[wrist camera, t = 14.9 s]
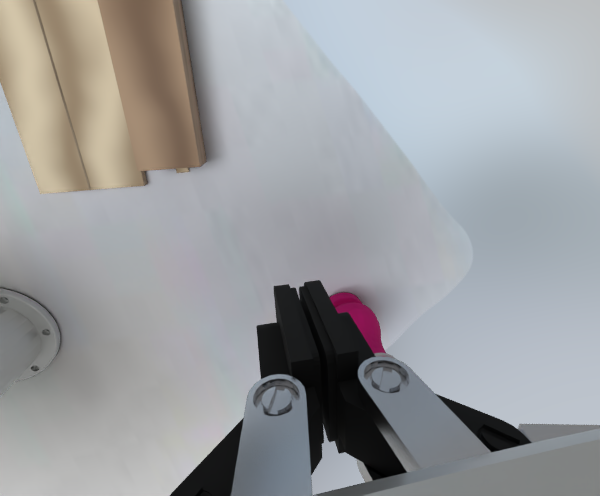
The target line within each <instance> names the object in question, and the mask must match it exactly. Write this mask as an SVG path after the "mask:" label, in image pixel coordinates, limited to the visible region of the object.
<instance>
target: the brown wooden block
mask: <svg viewBox="0 0 600 496" xmlns="http://www.w3.org/2000/svg"><path fill="white" fill-rule="evenodd" d="M97 1H98V5H99V9H100V13H101V18H102V22H103V26H104V30H105V35H106V39H107V43H108V47H109V52H110V56H111V60H112V64H113V68H114V73H115V77H116V81H117V85H118V90H119V94H120V98H121V102H122V107H123V111H124V115H125V119H126V124H127V128H128V132H129V136H130V141H131V145H132V149H133V153H134V158H135V162H136V166H137V170H138V171H147V170H161V169H175V168H189V167H200V166H202V165H203V164H204V163H206V155H205V149H204V142H203V136H202V130H201V123H200V117H199V111H198V104H197V98H196V91H195V85H194V79H193V72H192V66H191V60H190V53H189V47H188V40H187V34H186V28H185V21H184V15H183V9H182V2H181V0H97Z"/></svg>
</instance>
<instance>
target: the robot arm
mask: <svg viewBox="0 0 600 496" xmlns="http://www.w3.org/2000/svg"><path fill="white" fill-rule="evenodd" d="M299 295H300V300H299V297H298V294H297V291H296V288H290V286H289V284H288V285H281V286H274V297H275V308H276V318H277V323H270V324H264V325H257V336H258V348H259V360H260V372H261V380H259V381H258V382H257V383H255V384H254V386H253V387H252V388H251V389H250V391H249V394H248V396H247V401H246V407H245V413H244V418H243V419H242V420H241V421H240V422H239V423H238V424H237V425H236V426H235V427H234V429H233V430H232V431H231V432H230V433H229V434H228V435H227V436H226V437H225V438H224V439H223V440H222V441H221V442H220V443H219V444H218V445H217V446H216V447H215V448H214V449H213V451H212V452H211V453H210V454H209V455H208V456H207V457H206V458H205V459H204V460H203V461H202V462H201V463H200V464H199V465H198V466H197V467H196V468H195V469H194V470H193V471H192V473H191V474H190V475H189V476H188V477H187V478H186V479H185V480H184V481H183V482H182V483H181V484H180V485H179V486H178V487H177V488H176V489H175V490H174V491H173V492H172V494H171V495H170V496H600V425H557V424H555V425H554V424H552V425H551V424H519V428H518V429H516V428H515V427H514V426H512V425H510V424H508V423H506V422H504V421H502V420H500V419H497V418H495V417H492V416H490V415H488V414H485V413H482V412H480V411H477V410H475V409H472V408H470V407H467V406H465V405H462V404H460V403H457V402H454V401H452V400H449V399H447V398H445V397H442V396H439V395H437V394H435V393H434V392H433V391H432V390H431V389H430V388H429V387H428V386H427V385H426V384H425V383H424V382H423V381H422V380H421V379H420V378H419V377H418V376H417V375H416V374H415V373H414V372H413V371H412V369H411V368H410V367H408V366H407V365H406V364H404V363H403V362H400V361H399V360H397V359H394V358H390V357H383V356H378V357H376V356H375V355H374V353H373V351H372V350H371V348H370V346H369V345H368V343H367V341H366V340H365V338H364V337H363V335H362V333H361V332H360V330H359V328H358V327H357V325H356V324H355V322H354V320H353V319H352V317H351V315H350V314H349V313H348V312H343V313H338V312H337V311H336V309H335V307H334V305H333V303H332V302H331V300H330V298H329V296H328V294H327V292H326V291H325V289H324V287H323V285H322V283H321V282H320V280H318V281H310V282H305V283H304V286H303V287H299ZM59 346H60V332H59V329H58V326H57V324H56V322H55V321H54V319H53V317H52V316H51V315H50V314H49V313H48V312H47V310H46V309H45V308H43V307H42V306H41V305H40V304H38V303H37V302H36V301H34V300H32V299H30V298H28V297H27V296H24V295H22V294H19V293H17V292H14V291H10V290H6V289H2V288H0V397H1V396H2V395H3V394H4V393H5V392H6V391H7V390H8V389H9V388H10V386H11V385H12V384H13V383H14V382H16V381H20V380H25V379H27V378H30V377H32V376H35V375H36V374H38V373H40V372H41V371H43V370H44V369H45V368H46V367H47V366H48V365H49V364H50V363H51V362H52V360H53V359H54V358H55V356H56V354H57V352H58V350H59ZM323 424H324V428H325V431H326V435H327V438H328V440H329V442H331V441H335V443H336V446H337V449H338V452H339V453H343V452H346V453H348V454H349V455H351V456H353V457H354V458H356V459H357V465H358V468H359V471H360V473H361V475H362V477H363V478H364V481H365V483H361V484H357V485H353V486H349V487H345V488H341V489H337V490H332V491H329V492H324V493H320V494H316V495H312V480H311V475H312V473H313V472H314V470H315V468H316V467H317V465H318V463H319V462H320V460H321V458H322V443H324V435H323Z"/></svg>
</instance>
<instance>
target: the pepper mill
mask: <svg viewBox="0 0 600 496" xmlns="http://www.w3.org/2000/svg"><path fill="white" fill-rule="evenodd" d="M330 300H331V302H332V303H333V305H334V307H335V309H336V311H337V312H338V313H343V312H348V313H349V314H350V315H351V317H352V319H353V320H354V322H355V324H356V325H357V327H358V328H359V330H360V332H361V333H362V335H363V337H364V338H365V340H366V341H367V343H368V345H369V346H370V348H371V350H372V351H373V353H374V355H375V356H376V357H378V356H383V357H390V358H394V357H393V356H391V355H389V354H387V353H386V352H385V350H384V348H383V346H382V343H381V330H380V326H379V322H378V320H377V318H376V316H375V314H374V313H373V311H372V310H371V309H370V308H368V307H367V306H365V305H363V304H362V303H361V301H360V300H359V299H358V297H356V296H355V295H353V294H351V293H338V294H335V295H333V296H331V297H330ZM394 359H395V358H394Z"/></svg>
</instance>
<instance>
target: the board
mask: <svg viewBox="0 0 600 496" xmlns="http://www.w3.org/2000/svg"><path fill="white" fill-rule="evenodd" d="M0 82H1V85H2V88H3V91H4V93H5V96H6V99H7V102H8V105H9V107H10V110H11V113H12V116H13V119H14V121H15V124H16V127H17V130H18V133H19V135H20V138H21V141H22V144H23V147H24V149H25V152H26V155H27V158H28V161H29V163H30V166H31V169H32V172H33V175H34V178H35V180H36V183H37V186H38V189H39V192H40V194H45V193H57V192H70V191H83V190H95V189H108V188H120V187H133V186H145V185H147V179H146V175H145V171H138V170H137V166H136V162H135V158H134V153H133V149H132V145H131V141H130V136H129V132H128V128H127V124H126V119H125V115H124V111H123V107H122V102H121V98H120V94H119V90H118V85H117V81H116V77H115V73H114V68H113V64H112V60H111V56H110V52H109V47H108V43H107V39H106V35H105V30H104V26H103V22H102V18H101V13H100V9H99V5H98V1H97V0H0ZM176 171H177V173H183V172H189V168H176Z"/></svg>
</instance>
